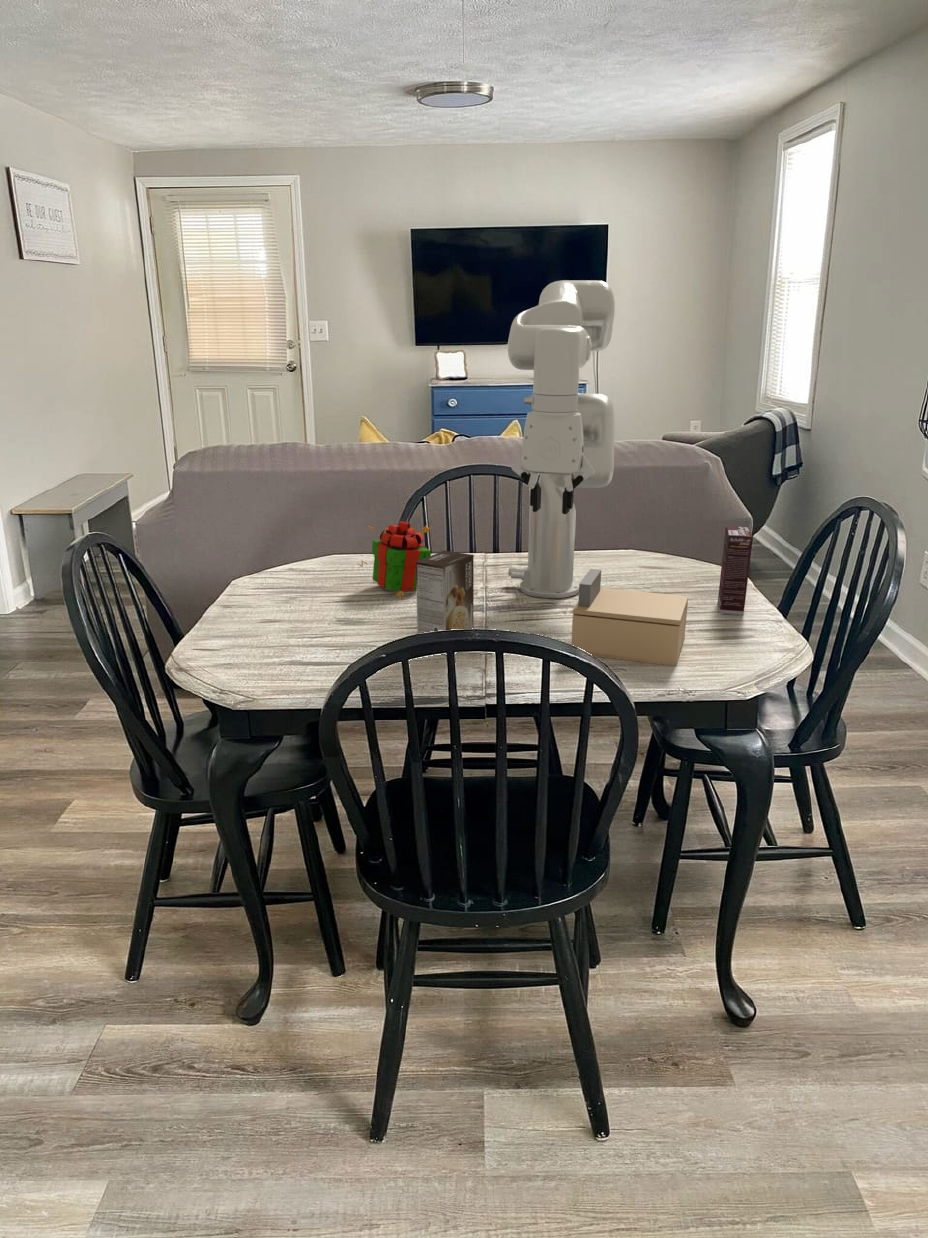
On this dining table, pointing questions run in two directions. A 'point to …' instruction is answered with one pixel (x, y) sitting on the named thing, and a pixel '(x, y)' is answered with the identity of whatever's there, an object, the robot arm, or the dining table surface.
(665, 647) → the tray
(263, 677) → the dining table surface
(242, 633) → the dining table surface
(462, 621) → the coffee box
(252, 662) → the dining table surface
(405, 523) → the green gift box
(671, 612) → the lid
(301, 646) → the dining table surface
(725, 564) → the supplement box
